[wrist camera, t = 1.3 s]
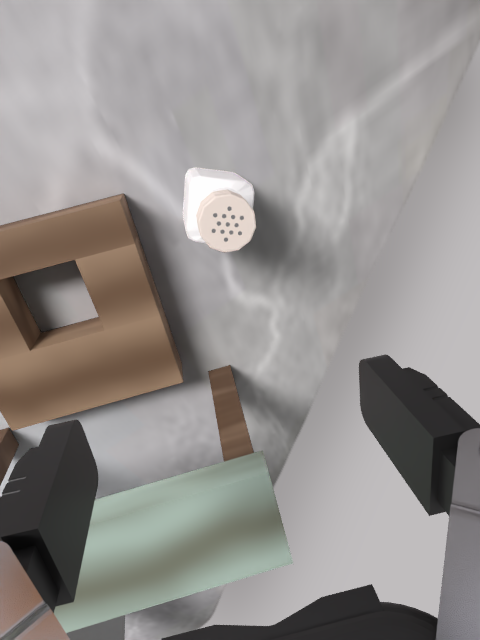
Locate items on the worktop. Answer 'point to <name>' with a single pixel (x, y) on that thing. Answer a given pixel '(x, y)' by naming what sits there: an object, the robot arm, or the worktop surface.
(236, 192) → the pepper shaker
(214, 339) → the worktop surface
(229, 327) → the worktop surface
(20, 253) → the stand
